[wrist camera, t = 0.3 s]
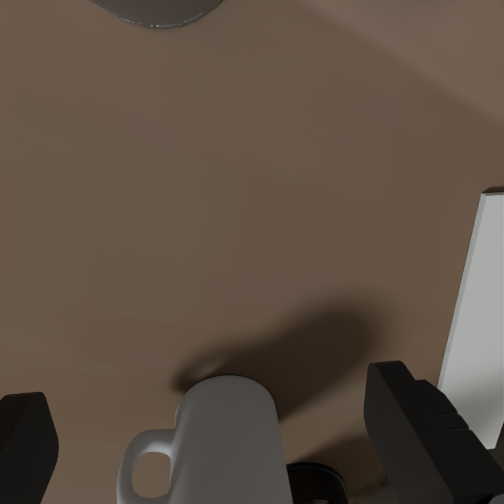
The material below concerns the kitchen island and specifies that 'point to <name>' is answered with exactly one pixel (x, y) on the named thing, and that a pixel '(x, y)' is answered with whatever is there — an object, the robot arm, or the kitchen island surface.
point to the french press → (316, 483)
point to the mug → (216, 448)
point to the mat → (479, 328)
